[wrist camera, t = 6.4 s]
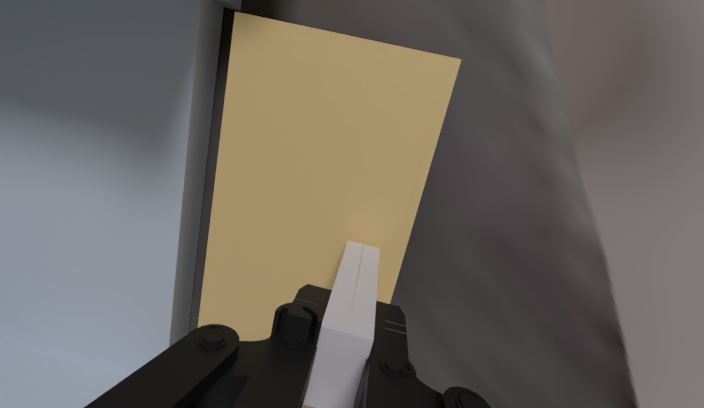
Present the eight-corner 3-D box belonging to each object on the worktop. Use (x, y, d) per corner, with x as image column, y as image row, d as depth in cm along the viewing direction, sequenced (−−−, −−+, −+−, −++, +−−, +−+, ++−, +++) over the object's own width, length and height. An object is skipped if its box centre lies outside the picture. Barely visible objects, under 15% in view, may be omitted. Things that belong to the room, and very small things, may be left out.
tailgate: (234, 11, 15) (461, 59, 13) (250, 20, 16) (457, 64, 15) (192, 375, 20) (352, 432, 19) (206, 359, 21) (356, 412, 20)
